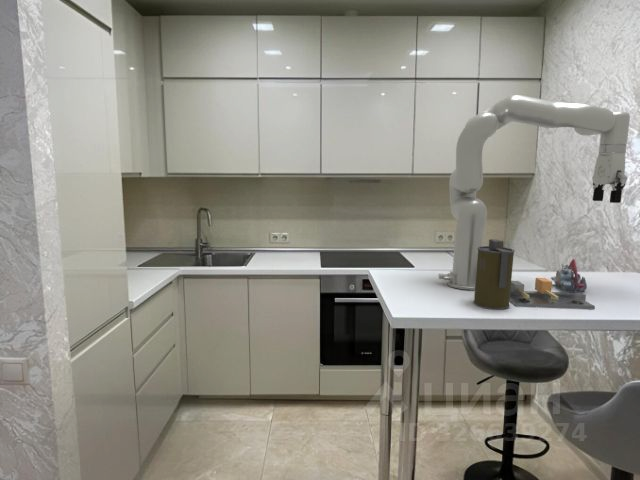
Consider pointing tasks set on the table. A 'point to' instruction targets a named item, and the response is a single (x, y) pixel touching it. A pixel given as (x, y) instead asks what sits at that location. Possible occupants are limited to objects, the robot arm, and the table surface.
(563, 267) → the brake caliper
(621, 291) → the table surface
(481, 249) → the canister
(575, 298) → the rail
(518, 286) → the fixed leg
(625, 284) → the table surface
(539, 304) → the strip
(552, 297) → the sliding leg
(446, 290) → the table surface
